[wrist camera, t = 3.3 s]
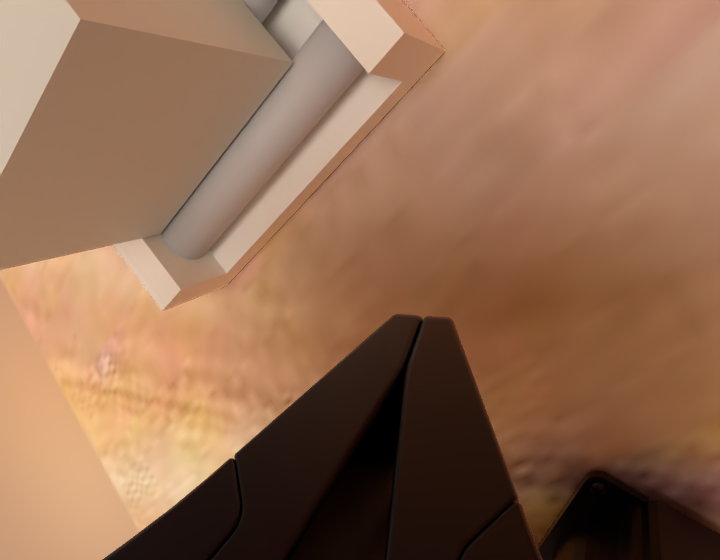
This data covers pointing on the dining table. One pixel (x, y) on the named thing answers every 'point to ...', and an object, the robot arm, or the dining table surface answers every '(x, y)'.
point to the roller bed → (318, 149)
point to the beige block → (118, 114)
